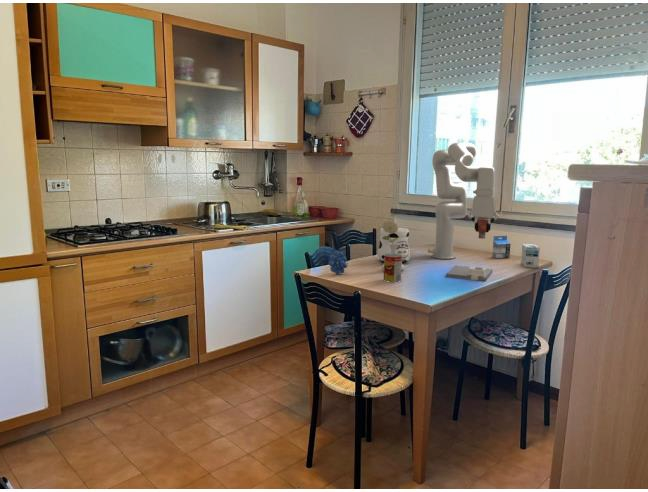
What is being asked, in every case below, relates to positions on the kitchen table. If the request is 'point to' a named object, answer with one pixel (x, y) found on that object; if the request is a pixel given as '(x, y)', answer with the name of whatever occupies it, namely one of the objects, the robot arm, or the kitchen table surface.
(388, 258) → the canned food
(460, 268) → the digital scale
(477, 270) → the block
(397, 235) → the milk container
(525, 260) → the light bulb box
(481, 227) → the reddish rounded cylinder
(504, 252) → the label tape cartridge
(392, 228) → the flower in vase
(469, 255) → the kitchen table surface
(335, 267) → the grapes
